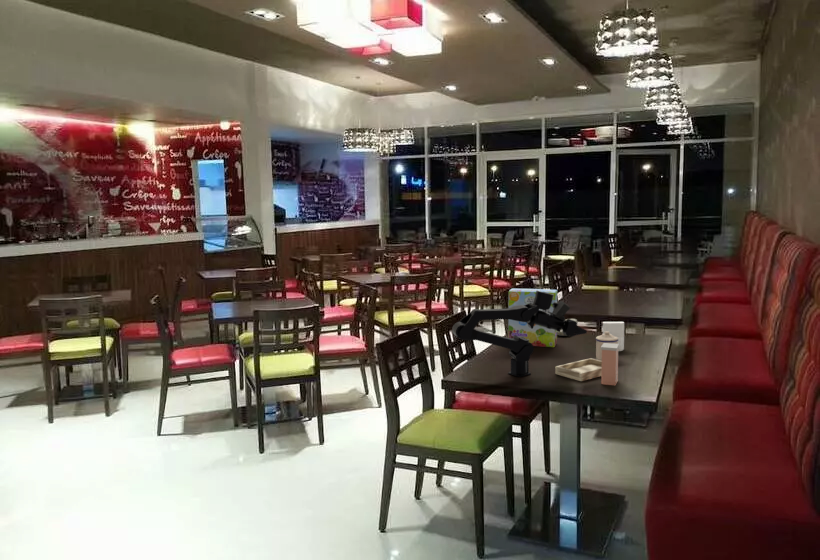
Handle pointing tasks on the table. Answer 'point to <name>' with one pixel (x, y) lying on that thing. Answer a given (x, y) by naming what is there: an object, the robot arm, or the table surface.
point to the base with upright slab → (615, 332)
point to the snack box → (538, 333)
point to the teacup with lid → (604, 339)
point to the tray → (580, 369)
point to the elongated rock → (562, 330)
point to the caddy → (609, 363)
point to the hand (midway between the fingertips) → (581, 329)
